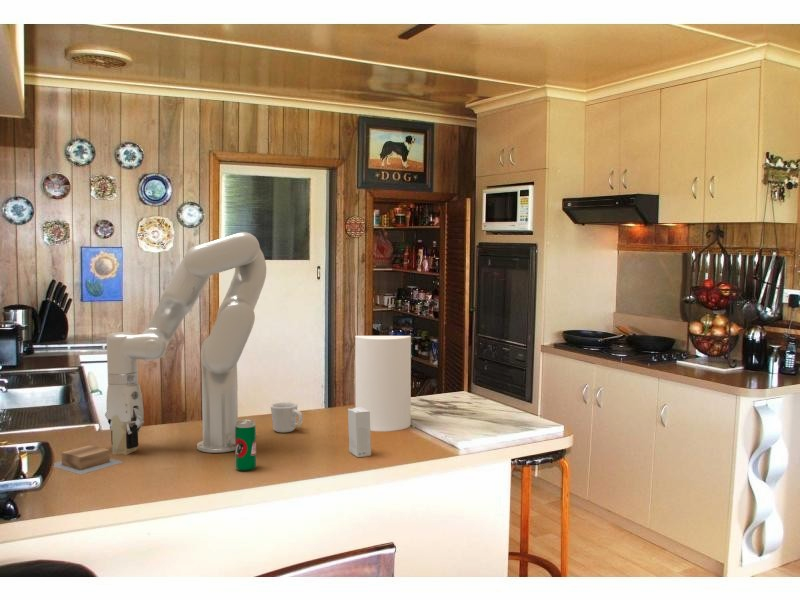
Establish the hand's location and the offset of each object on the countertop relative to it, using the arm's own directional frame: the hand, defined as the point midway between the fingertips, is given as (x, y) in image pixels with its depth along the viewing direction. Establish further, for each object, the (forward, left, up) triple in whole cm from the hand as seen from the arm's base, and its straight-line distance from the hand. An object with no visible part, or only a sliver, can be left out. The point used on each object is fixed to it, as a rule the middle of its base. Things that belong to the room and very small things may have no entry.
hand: (124, 445), depth 188 cm
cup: (-20, -42, -3) cm, 47 cm away
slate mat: (-1, +12, -3) cm, 12 cm away
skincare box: (-52, -35, -3) cm, 63 cm away
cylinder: (-39, -65, -3) cm, 76 cm away
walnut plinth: (-1, +12, -2) cm, 12 cm away
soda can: (-36, -9, -3) cm, 37 cm away
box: (0, 0, -3) cm, 3 cm away
